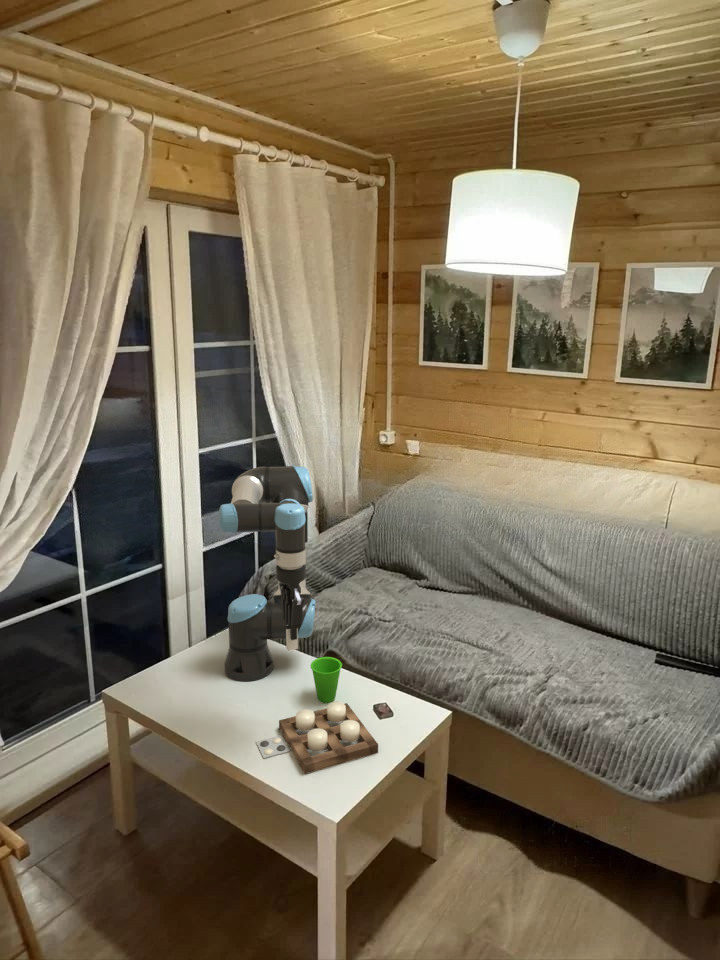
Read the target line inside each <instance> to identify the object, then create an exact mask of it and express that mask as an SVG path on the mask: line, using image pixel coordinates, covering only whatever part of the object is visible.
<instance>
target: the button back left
mask: <svg viewBox="0 0 720 960" xmlns="http://www.w3.org/2000/svg"><path fill="white" fill-rule="evenodd" d="M326 708H327V718H328V720H329V721H328V722H331V723H342V722H343V721H344V720H345V718H346V706H345V703H343V702H340V701H333V702H331V703H328V704H327V707H326Z"/></svg>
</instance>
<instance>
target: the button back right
mask: <svg viewBox="0 0 720 960" xmlns="http://www.w3.org/2000/svg"><path fill="white" fill-rule="evenodd" d="M295 716H296V728H297V729H298V730H299V731H303V732H305V731H306V732H307V731H308V732H309V731H310V730H312V729H314V726H315V714H314V711H313V710H311V709H301V710H299V711H297V712H296V713H295Z"/></svg>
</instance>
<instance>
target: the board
mask: <svg viewBox="0 0 720 960" xmlns="http://www.w3.org/2000/svg"><path fill="white" fill-rule="evenodd" d="M344 704H345V706H346V718H345V720H343V721H346V720H354V721H357V722H358V723H359V725H360V736H359V739H358V740H357V741H358V742H356V743H354V744H351V745H347V746H344V745H343V743H341V742H342V741H343V740H342V739H341V737H340V725H341V724H338V725H335V726H330V725H329V723H328V722H330V721H329V720H328V718H327V707H326V708H322V709H319V710H314V711H313V712H314V714H315V726H314V728H313V729H316V728H319V729H323V730H325V731H326V732H327V747H326V748H325V749H326V750H327V751H326V752H322V753H319V754H315V755H312V756H311V754H310V753H309V751H308V750H310V749H309V748H308V733H304V734H301V735H298V732H297V730H299V729H297V728H296V715H295V716H291V717H286V718H284V719H283V718H282V719H279V720H278V729H279V731H280V732H281V734H282V737H283V739H284V741H285V742H286V744H287V746H289V747H288V748H289V750H290V751H291V752H292V755H294V758H295V759H296V761H297V762H298V765H299V766H300V768H301V770H302V771H303V774H304V775H307V774H309V773H313V772H317V771H320V770H325V769H327V768H331V767H333V766H338V765H341V764H344V763H347V762H352V761H355V760H358V759H361V758H365V757H369V756H371V755H375V754H378V753H379V743H378V742H377V741H376V740H375V738H374V737H373V735H372V733H370V731H369V730H368V729H367V728H366V727H365V725H364V723H362V720H360V719H359V717H358V716H357V714H356V713H355V712H354V711H353V709H352V708H351V706H350V705H349V704H348V702H346V703H344Z"/></svg>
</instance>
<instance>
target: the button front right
mask: <svg viewBox="0 0 720 960" xmlns="http://www.w3.org/2000/svg"><path fill="white" fill-rule="evenodd" d="M307 734H308V748H309V749H308V750H311V751H313V752H320V751H324V750H325V749H326V747H327V732H326V731H325V730H323V729H319V728H316V729H314V728H312V729H311V730H308V732H307Z"/></svg>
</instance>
